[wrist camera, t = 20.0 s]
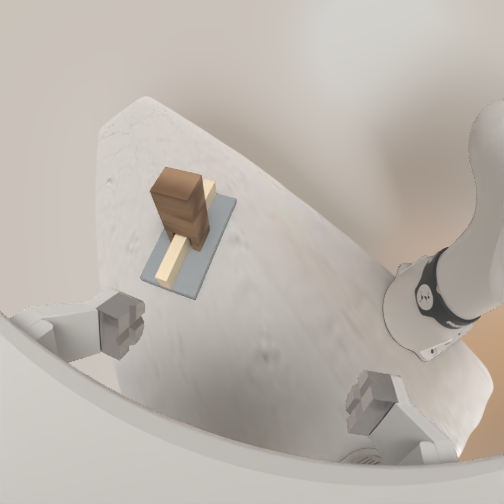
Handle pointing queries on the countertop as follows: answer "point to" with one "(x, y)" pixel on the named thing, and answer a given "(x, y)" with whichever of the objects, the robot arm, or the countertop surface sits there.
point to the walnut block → (182, 205)
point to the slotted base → (189, 250)
